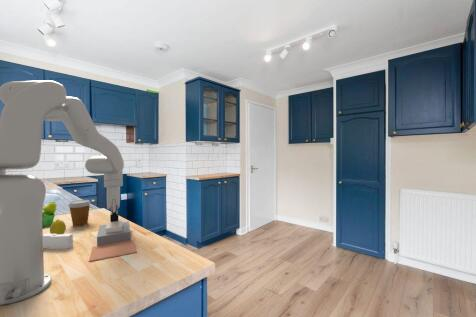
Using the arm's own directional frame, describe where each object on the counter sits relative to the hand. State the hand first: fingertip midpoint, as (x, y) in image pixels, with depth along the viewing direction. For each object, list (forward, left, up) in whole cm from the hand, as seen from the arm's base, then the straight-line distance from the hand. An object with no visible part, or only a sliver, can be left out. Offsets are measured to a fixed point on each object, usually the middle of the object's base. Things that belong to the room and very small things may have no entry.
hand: (114, 222), depth 104 cm
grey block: (-6, 0, -5) cm, 7 cm away
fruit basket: (+33, +32, -5) cm, 47 cm away
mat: (-20, 0, -5) cm, 21 cm away
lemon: (+6, +22, -5) cm, 24 cm away
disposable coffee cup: (+23, +16, -5) cm, 29 cm away
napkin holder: (-5, +20, -6) cm, 22 cm away
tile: (-6, 0, -1) cm, 6 cm away
